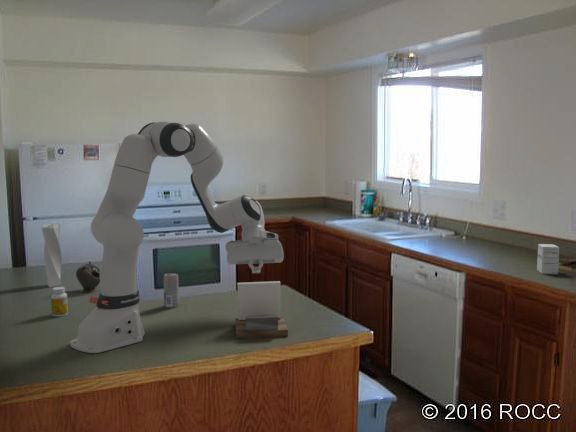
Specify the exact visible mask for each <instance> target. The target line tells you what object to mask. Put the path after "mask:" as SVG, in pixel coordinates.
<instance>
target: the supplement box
mask: <svg viewBox="0 0 576 432" xmlns="http://www.w3.org/2000/svg"><path fill="white" fill-rule="evenodd" d="M536 258H537V262H536V263H537V264H536V271H538V272H539V273H540V274H542V275H559V262H560V260H559V259H560V247H559V246H557V245H556V244H553V243H551V244H550V243H538V244H537V257H536Z"/></svg>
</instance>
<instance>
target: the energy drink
mask: <svg viewBox="0 0 576 432" xmlns="http://www.w3.org/2000/svg"><path fill="white" fill-rule="evenodd" d="M179 289H180V288H179V274H178V273H176V272H169V273H164V274H163V295H164V296H163V297H164V306H165V308H168V309H169V308H170V309H171V308H173V309H174V308H178V307H179V306H180V293H179V292H180V291H179Z"/></svg>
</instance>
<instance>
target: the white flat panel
mask: <svg viewBox="0 0 576 432" xmlns="http://www.w3.org/2000/svg"><path fill="white" fill-rule="evenodd" d="M281 291H282V290H281V281H280V280H277V281H276V280H273V281H271V280H270V281H253V282H252V281H251V282H250V281H249V282H246V281H245V282H237V315H238V316H237V317H238V320H245V315H267V314H277V316H278V318H281V316H282V308H281V307H282V304H281V303H282V300H281V298H282V297H281V296H282V295H281V293H282V292H281Z"/></svg>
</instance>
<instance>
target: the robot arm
mask: <svg viewBox="0 0 576 432" xmlns="http://www.w3.org/2000/svg"><path fill="white" fill-rule="evenodd" d="M158 156H159V157H163V158H171V157H172V158H178V157H182V156H183V157H184V158H185V159H186V161H187V163H188V164H189V165H190V167H191V168H190V169H191V171H192V172H191V174H190V183H191V186H192V188H193V190H194V193H195V195H196V197H197V198H198V201H199V203H200V205H201V208H202V209H203V212H204V214H205V216H206V219H207V222H208V224H209V227H210V229H212V231H215V232H217V233H220V234H224V233H226V232H228V231H229V230H231V229H233V228H236V227H238V226H241V229H242V230H241V239H240V240H239V239H237V240H229V241H228V242H226V243H225V249H226V254H227V255H226V263H227V264H229V265H248V267H249V269H251V273H252V274H261V271H262V268H263V265H264V264H274V263H276V264H277V263H279V264H280V263H282V262H283V261H284V257H285V254H284V249H283V245H282V243H281V241H280V240H279V234H278V233H275V232H270V231H267V230H266V229H265V226H266V225H265V223H266V222H265V216H264V215H265V214H264V210H263V208H262V205H261V204H260V203H259V201H257V200H255V199H254V198H252V196H249V195H245V194H243V195H240V196H237V197H234V198H232V199H230V200H228V201H226V202H223V203H220V204H219V203H216V201H215V199H214V197H213V195H212V193H211V190H210V189H209V185H210V184H211V182H212V181H213V180H214V179H215V178H216V177H218V175H219V174H220V172H221V170H222V168H223V166H224V157H223V155H222V152H221V149H219V146H217V144H216V143H215V141H214V140H213V138H212V137H211V136H210V135H209V134H208V132H207V131H206V130H205V129H204V128H203V127H202V126H201V125H199V124H197V123H188V124H186V125H185V124H184V125H183V124H182V123H179V122H170V121H169V122H168V121H157V122H154V121H153V122H150V123H147V124H145V125H144V126H142V128H141V129H140V130H139V131H138V133H132V134H128V135H127V136H124V138H123V140H122V141H121V144H120V146H119V148H118V151H117V153H116V156H115V159H114V163H113V167H112V171H111V174H110V179H109V182H108V186H107V189H106V192H105V194H104V197H103V198H102V201H101V203H100V205H99V208H98V210H97V212H96V215H95V216H94V217H93V219H92V221H91V223H90V231H91V234H92V236H93V237H94V239H95V240H96V241H97V243H100V244H101V245H102V246H103V252H102V260H101V264H100V266H99V270H100V283H99V288H100V289H99V290H100V293H99V295H98V297H96V296H93V295H91V296H89V299H88V302H89V303H90V304H94V305H95V306H96V307H94V308H93V310H92V311H91V312H90V313H89V314H88V315H87V316H86V317H85V318H84V319H83V320H82V321H81V322H80V323H79V326H78V328H77V329H78V331H77V337H76V338H74V339H72V340H70V341H69V346H70V347H71V348H73V349H74V350H77V351H79V352H83V353H89V354H99V353H103V352H107V351H110V350H115V349H118V348H121V347H125V346H129V345H133V344H136V343H140V342H143V341H144V338H143V337H144V336H145V334H146V331H145V330H144V326H143V323H142V318H141V312H140V305H139V304H140V301H141V300H140V291H139V289H138V271H137V270H138V259H139V258H138V257H139V253H140V247H141V244H142V243H143V240H144V236H145V232H144V228H143V226H142V225H141V223H140V222H139V221H138V220H137V219H136V218H134V216H135V213H136V211H137V209H138V207H139V205H140V203H142V201H143V200H144V198H145V194H146V191H147V186H148V182H149V179H150V175H151V171H152V167H153V166H152V165H153V163H154V161H155V159H156V158H157V157H158ZM253 264H258V266H254V265H253Z"/></svg>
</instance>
